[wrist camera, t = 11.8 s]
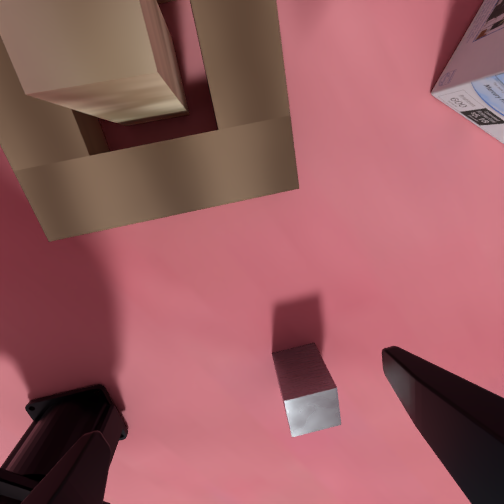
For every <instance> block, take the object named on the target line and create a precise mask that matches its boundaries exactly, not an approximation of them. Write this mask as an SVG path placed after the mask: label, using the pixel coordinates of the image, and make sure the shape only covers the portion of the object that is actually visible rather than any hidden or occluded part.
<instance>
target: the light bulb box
mask: <svg viewBox="0 0 504 504" xmlns="http://www.w3.org/2000/svg"><path fill="white" fill-rule="evenodd" d="M431 94H432V95H433V96H434V97H435V98H437V99H438V100H440V101H441V102H443V103H444V104H446V105H447V106H449V107H450V108H452V109H453V110H454V111H456V112H457V113H459V114H460V115H462V116H463V117H465V118H466V119H468V120H469V121H471V122H472V123H474V124H475V125H477V126H478V127H480V128H481V129H482V130H484V131H485V132H487V133H488V134H490V135H491V136H493V137H494V138H496V139H497V140H499V141H500V142H502V143H503V144H504V0H484V2H483V3H482V5H481V7H480V9H479V10H478V12H477V14H476V16H475V17H474V19H473V21H472V23H471V24H470V26H469V28H468V29H467V31H466V33H465V35H464V36H463V38H462V40H461V41H460V43H459V45H458V47H457V48H456V50H455V52H454V54H453V55H452V57H451V59H450V60H449V62H448V64H447V66H446V67H445V69H444V71H443V72H442V74H441V76H440V78H439V79H438V81H437V83H436V85H435V86H434V88H433V90H432V92H431Z"/></svg>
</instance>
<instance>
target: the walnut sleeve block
mask: <svg viewBox="0 0 504 504" xmlns="http://www.w3.org/2000/svg"><path fill="white" fill-rule="evenodd" d="M170 1H175V0H157V3H158V4H159V3H164V2H170ZM190 3H191V7H192V12H193V17H194V21H195V26H196V31H197V35H198V40H199V44H200V49H201V54H202V58H203V63H204V67H205V72H206V77H207V81H208V86H209V91H210V95H211V100H212V104H213V109H214V114H215V118H216V123H217V127H218V130H215V131H210V132H205V133H200V134H195V135H190V136H185V137H180V138H175V139H171V140H166V141H161V142H156V143H151V144H146V145H141V146H136V147H131V148H126V149H121V150H116V151H111V152H110V151H109V148H108V145H107V142H106V140H105V137H104V134H103V131H102V129H101V126H100V123H99V120H98V118H97V117H96V116H92V115H89V114H86V113H83V112H80V111H77V110H73V109H70V108H67V107H64V106H61V105H57V104H54V103H51V102H48V101H45V100H41V99H38V98H35V97H32V96H29V95H26V94H25V92H24V90H23V88H22V85H21V83H20V81H19V78H18V76H17V73H16V71H15V69H14V66H13V64H12V62H11V59H10V57H9V55H8V52H7V50H6V47H5V45H4V43H3V40H2V38H1V36H0V145H1V147H2V149H3V151H4V153H5V155H6V157H7V159H8V161H9V163H10V165H11V167H12V169H13V171H14V173H15V175H16V177H17V179H18V181H19V183H20V185H21V187H22V189H23V191H24V193H25V195H26V197H27V199H28V201H29V203H30V205H31V207H32V209H33V211H34V213H35V215H36V217H37V219H38V221H39V223H40V225H41V227H42V229H43V231H44V233H45V235H46V237H47V239H48V241H49V242H50V241H55V240H60V239H64V238H69V237H74V236H78V235H83V234H88V233H92V232H97V231H102V230H107V229H111V228H116V227H121V226H125V225H130V224H135V223H139V222H144V221H149V220H154V219H158V218H163V217H168V216H172V215H177V214H182V213H186V212H191V211H196V210H201V209H205V208H210V207H215V206H219V205H224V204H229V203H233V202H238V201H243V200H247V199H252V198H257V197H262V196H266V195H271V194H276V193H280V192H285V191H290V190H294V189H299V182H298V174H297V166H296V158H295V150H294V142H293V134H292V126H291V117H290V109H289V101H288V93H287V85H286V77H285V69H284V60H283V52H282V44H281V36H280V28H279V20H278V12H277V4H276V0H190Z"/></svg>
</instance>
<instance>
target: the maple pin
mask: <svg viewBox="0 0 504 504" xmlns="http://www.w3.org/2000/svg"><path fill="white" fill-rule="evenodd" d="M0 36H1V38H2V40H3V43H4V45H5V47H6V50H7V52H8V55H9V57H10V59H11V62H12V64H13V66H14V69H15V71H16V73H17V76H18V78H19V81H20V83H21V85H22V88H23V90H24V92H25V94H26V95H29V96H32V97H35V98H38V99H41V100H45V101H48V102H51V103H54V104H57V105H61V106H64V107H67V108H70V109H73V110H77V111H80V112H83V113H86V114H89V115H92V116H96V117H99V118H102V119H105V120H108V121H112V122H115V123H118V124H121V125H124V126H129V125H134V124H140V123H146V122H151V121H157V120H163V119H168V118H174V117H180V116H185V115H189V110H188V106H187V101H186V97H185V93H184V88H183V84H182V80H181V75H180V71H179V67H178V62H177V58H176V54H175V49H174V45H173V41H172V37H171V35H170V32H169V30H168V27H167V25H166V22H165V20H164V17H163V15H162V13H161V10H160V8H159V5H158V3H157V0H0Z"/></svg>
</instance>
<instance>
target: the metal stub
mask: <svg viewBox="0 0 504 504" xmlns="http://www.w3.org/2000/svg"><path fill="white" fill-rule="evenodd" d="M272 356H273V361H274V365H275V370H276V374H277V379H278V383H279V388H280V391H281V395H282V399H283V403H284V407H285V411H286V415H287V419H288V423H289V427H290V431H291V435H292V437H295V436H299V435H303V434H307V433H311V432H315V431H319V430H323V429H326V428H330V427H334V426H338V425H341V418H340V410H339V401H338V392H337V387H336V385H335V383H334V381H333V379H332V377H331V375H330V373H329V371H328V369H327V367H326V365H325V363H324V361H323V359H322V357H321V355H320V353H319V351H318V349H317V347H316V345H315V343H311V344H307V345H303V346H299V347H295V348H291V349H287V350H283V351H279V352H275V353H272Z"/></svg>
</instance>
